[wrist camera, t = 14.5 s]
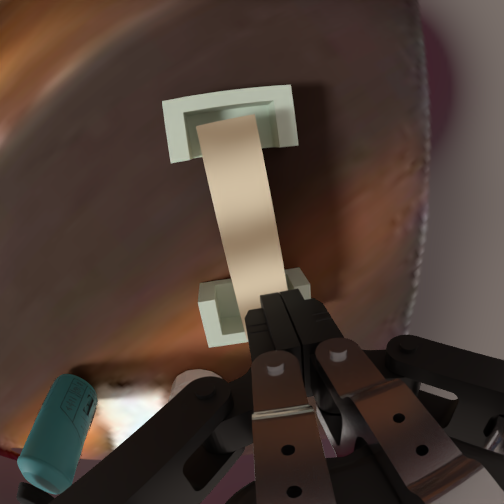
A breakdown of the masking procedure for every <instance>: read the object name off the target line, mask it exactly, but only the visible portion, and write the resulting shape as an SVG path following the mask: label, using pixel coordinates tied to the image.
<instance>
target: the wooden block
mask: <svg viewBox="0 0 504 504" xmlns="http://www.w3.org/2000/svg"><path fill="white" fill-rule="evenodd" d="M196 129H197V133H198V138H199V143H200V147H201V152H202V156H203V161H204V165H205V170H206V174H207V179H208V183H209V187H210V192H211V196H212V200H213V205H214V209H215V213H216V218H217V222H218V226H219V230H220V234H221V239H222V243H223V247H224V251H225V255H226V259H227V263H228V267H229V271H230V275H231V280H232V284H233V288H234V292H235V296H236V299H237V303H238V307H239V311H240V315H241V319H242V323H243V327H244V331H245V335H246V338H247V340H248V336H247V330H246V324H245V319H244V318H245V316H246V314H247V312H248V310H252V309H258V308H261V303H260V295H264V294H270V293H276V292H281V291H287V290H288V289H287V283H286V277H285V271H284V265H283V260H282V254H281V248H280V243H279V237H278V232H277V226H276V221H275V215H274V210H273V205H272V199H271V194H270V189H269V183H268V178H267V173H266V168H265V163H264V158H263V153H262V148H261V143H260V138H259V133H258V128H257V123H256V118H255V114H252V115H247V116H242V117H237V118H231V119H227V120H222V121H217V122H213V123H208V124H204V125H199V126H196Z"/></svg>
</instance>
